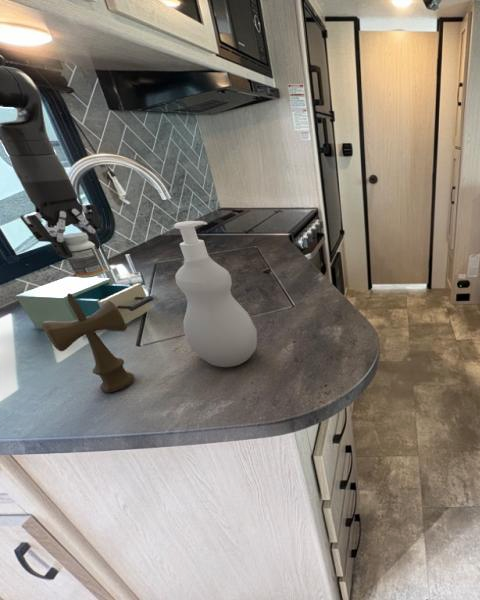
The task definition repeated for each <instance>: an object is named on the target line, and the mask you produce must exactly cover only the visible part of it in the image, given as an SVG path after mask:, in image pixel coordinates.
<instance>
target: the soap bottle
mask: <svg viewBox="0 0 480 600" xmlns="http://www.w3.org/2000/svg"><path fill="white" fill-rule="evenodd" d="M202 225H208V222H206V221H204V220H185V221H179V222H176V223H174V224H173V228H174V229H176V230H177V229H178V230H179V231H180V234H181V237H182V242H180V243H179V248H180V251H181V253H182V256H183V264H182V266H181V267H180V268H179V269H178V270H177V272H176V273H175V274H174V278H175V283H176V285H177V287H178V289H179V290H180V291H181V292H182V293H183V294H184V295H185V298H186V301H187V303H186V310H185V313H184V318H183V322H182V323H183V329H184V330H183V331H184V337H185V341H186V343H187V344H188V345H189V347H190V348H191V349H192V350H193V352H194V353H195V354H196V356H198V357H199V358H200V359H202V360H204V362H207V363H208V364H210V365H211V366H214V367H220V368H232V367H236V366H239V365H241V364H243V363H245V362H247V361H248V360H249V359H250V358H251V356H253V354H254V353H255V351H256V350H257V347H258V330H257V328H256V326H255V324H254V322H253V320H252V318H251V316H250V314H249V313H248V312H247V310H246V309H244V307H243V306H241V304H240V303H239V302H238V301H237V300H236V299H235V297H234V296H233V294H232V292H231V291H232V290H231V289H232V286H233V280H232V276H231V274H230V273H229V271H228V270H227V269H226V268H224V267H223V266H221V265H220V264H218V263H217V262H216V261H214V259H212V258H211V256H209V253H208V251H207V247H206V243H205V240H203V239H199V237H198V234H197V231H196V228H195V227H197V226H202Z"/></svg>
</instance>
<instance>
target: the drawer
mask: <svg viewBox="0 0 480 600" xmlns="http://www.w3.org/2000/svg"><path fill="white" fill-rule="evenodd" d="M74 298H75V300H76V301H77V303H78V305H79V306H80V308H81V310H82V311H83V313H84V315H85V316H86V317H88V316H91V315H93V314H94V313H96V312H97V311H98V310H99V309H100V308H101V307H102V306H103V305H104V304H105V303H106V302H107V301H110V302H112V303H113V304H114V305H115V306H116V307H117V309H118V310H119V312H120V314H121V315H122V317H123V319H124V322H125V325H127V324H128V323H130V322H132V321H134V320H135V319H138V318H139V317H141V315H144V314H145V313H147V312H149V311H151V310H152V309H153V308H152V306H151V304H150V303H151V302H152V301H154V297H153V296H152V295H148V296H147V294H146V292H145V289H144V287H143V284H142V283H138V282H137V283H134V284H133V285H131V284H118V283H117V284H115V283H113V284H103V285H101V286H98V287H96V288H93V289H91V290H89V291H86V292H84V293H81V294H79V295H77V296H74ZM67 300H68V301H69V299H67ZM69 303H70V301H69ZM70 305H71V303H70ZM71 307H72V305H71ZM72 308H73V307H72ZM73 310H74V309H73ZM74 312H75V311H74ZM75 314H76V313H75Z"/></svg>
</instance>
